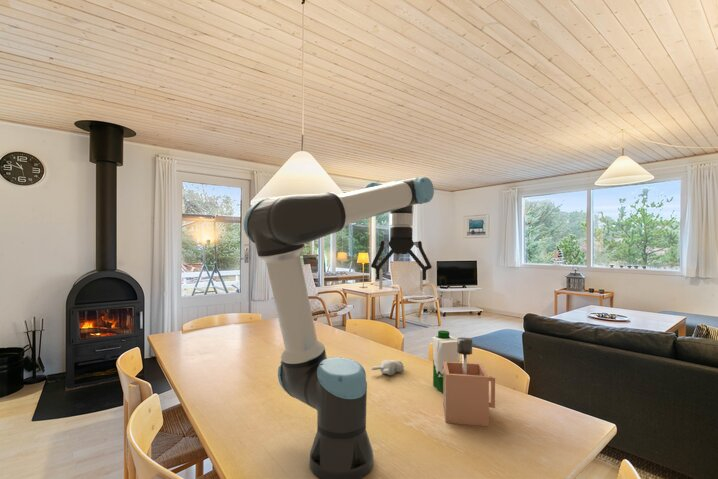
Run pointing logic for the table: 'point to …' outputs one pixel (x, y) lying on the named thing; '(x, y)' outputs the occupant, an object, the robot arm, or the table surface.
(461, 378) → the square pink mug
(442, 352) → the soya milk
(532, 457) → the table surface
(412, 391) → the table surface
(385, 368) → the bunny figurine
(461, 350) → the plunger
